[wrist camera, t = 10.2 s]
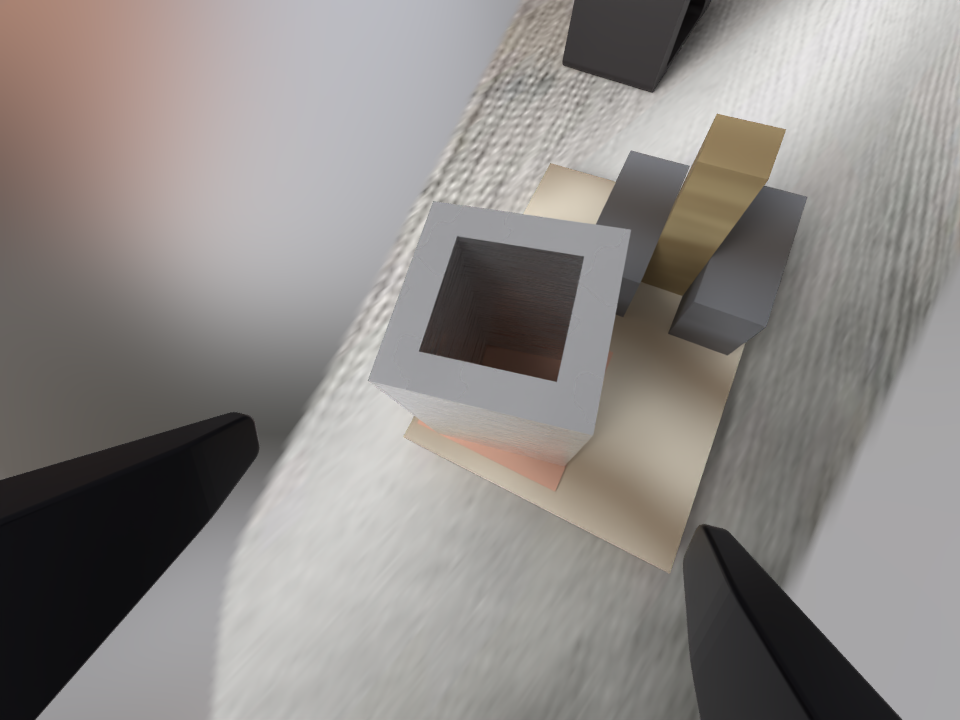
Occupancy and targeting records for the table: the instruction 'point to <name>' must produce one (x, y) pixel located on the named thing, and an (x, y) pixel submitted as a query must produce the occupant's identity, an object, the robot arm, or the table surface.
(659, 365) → the board
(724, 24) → the table surface
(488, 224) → the steel sleeve
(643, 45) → the phone stand
